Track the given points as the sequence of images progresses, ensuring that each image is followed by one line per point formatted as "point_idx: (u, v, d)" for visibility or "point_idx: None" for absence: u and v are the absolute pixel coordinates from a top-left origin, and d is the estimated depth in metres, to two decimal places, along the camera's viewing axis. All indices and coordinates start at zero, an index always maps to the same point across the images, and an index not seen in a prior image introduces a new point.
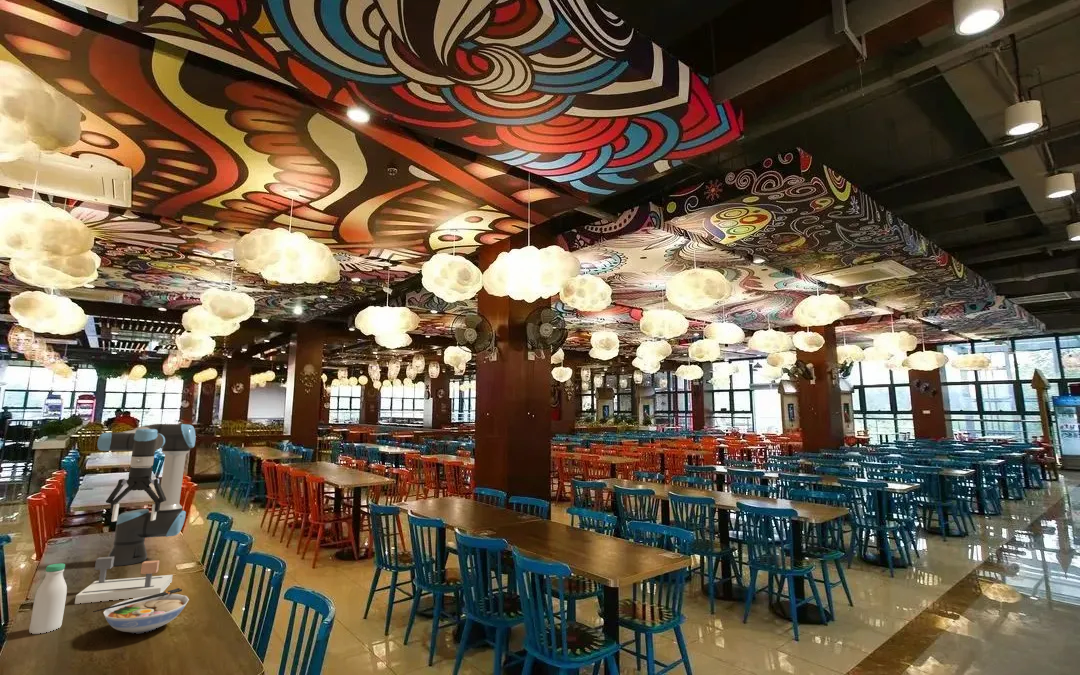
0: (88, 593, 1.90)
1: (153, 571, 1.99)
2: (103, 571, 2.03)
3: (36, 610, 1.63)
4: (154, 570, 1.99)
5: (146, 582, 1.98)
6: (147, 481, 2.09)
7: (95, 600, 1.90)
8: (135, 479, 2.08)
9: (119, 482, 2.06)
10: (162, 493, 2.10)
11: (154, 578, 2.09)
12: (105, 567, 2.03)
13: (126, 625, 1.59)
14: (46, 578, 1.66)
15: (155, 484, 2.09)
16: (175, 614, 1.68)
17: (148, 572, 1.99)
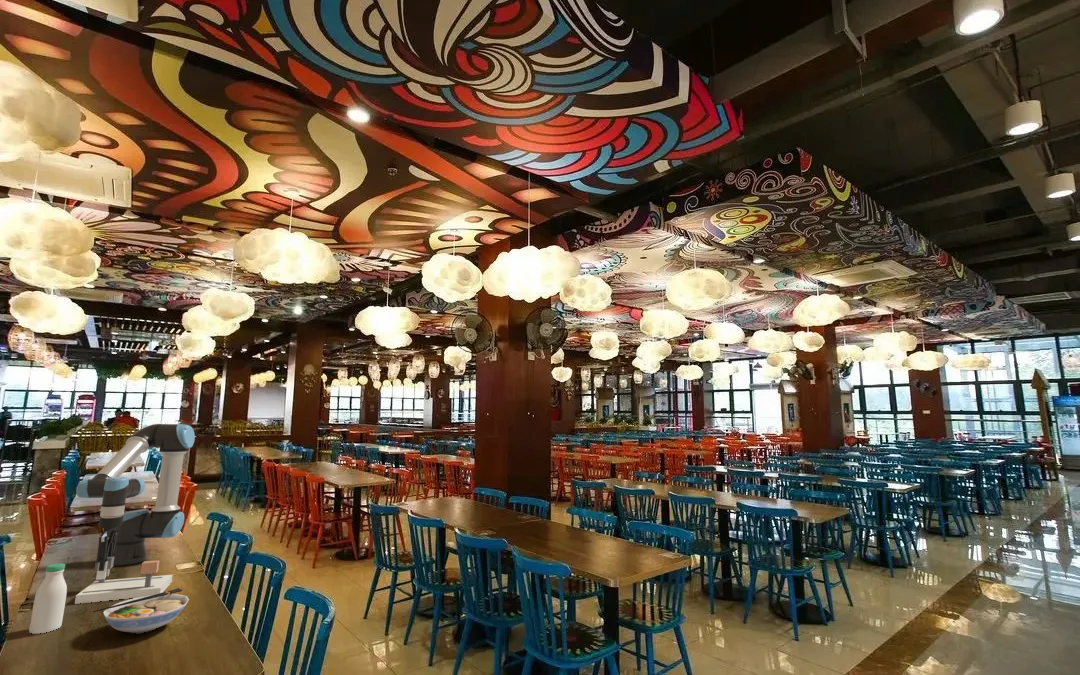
0: (88, 593, 1.90)
1: (153, 571, 1.99)
2: None
3: (36, 610, 1.63)
4: (154, 570, 1.99)
5: (146, 582, 1.98)
6: None
7: (95, 600, 1.90)
8: None
9: None
10: (101, 553, 2.00)
11: (154, 578, 2.09)
12: None
13: (126, 625, 1.59)
14: (46, 578, 1.66)
15: None
16: (175, 614, 1.68)
17: (148, 572, 1.99)
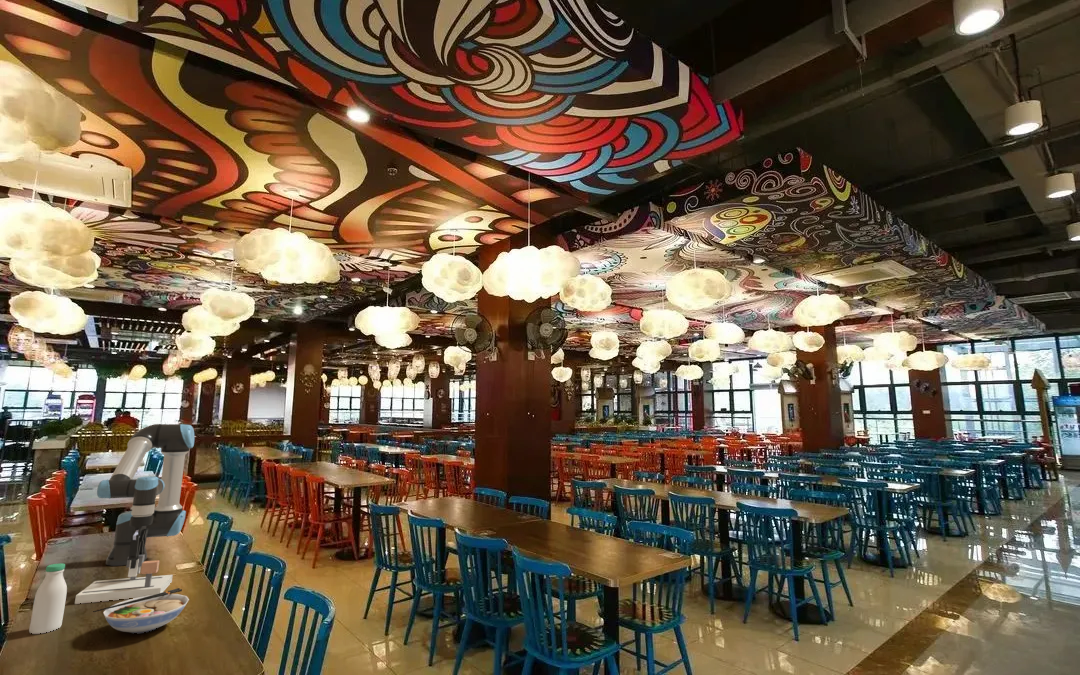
0: (88, 593, 1.90)
1: (153, 571, 1.99)
2: None
3: (36, 610, 1.63)
4: (154, 570, 1.99)
5: (146, 582, 1.98)
6: None
7: (95, 600, 1.90)
8: None
9: None
10: (133, 551, 2.04)
11: (154, 578, 2.09)
12: None
13: (126, 625, 1.59)
14: (46, 578, 1.66)
15: None
16: (175, 614, 1.68)
17: (148, 572, 1.99)
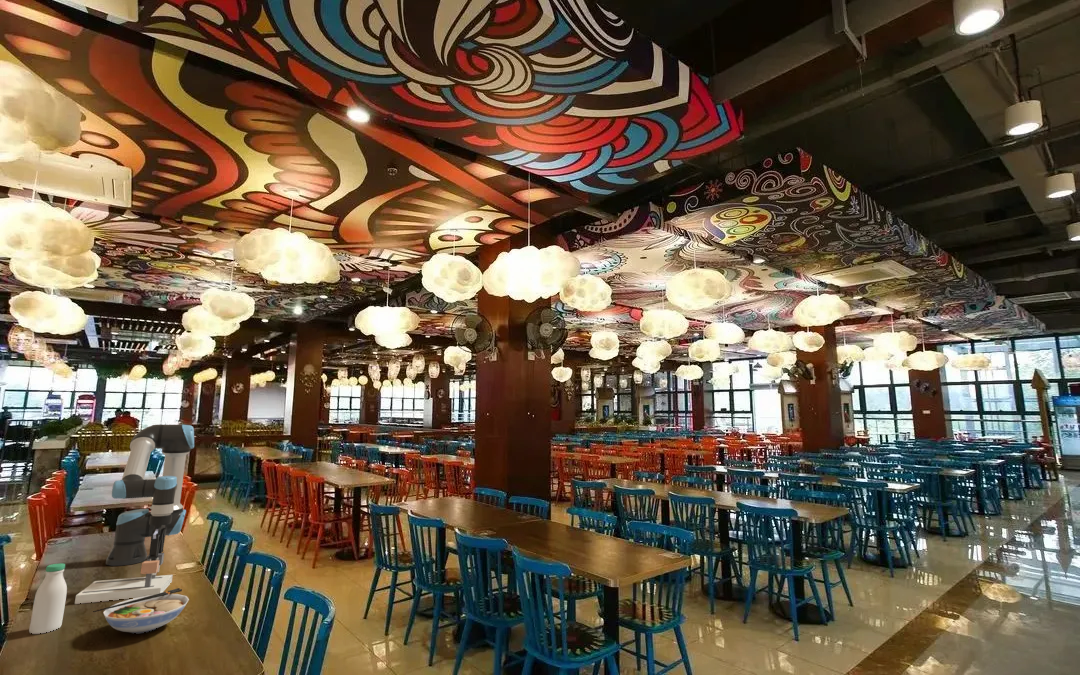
0: (88, 593, 1.90)
1: (153, 571, 1.99)
2: None
3: (36, 610, 1.63)
4: (154, 570, 1.99)
5: (146, 582, 1.98)
6: None
7: (95, 600, 1.90)
8: None
9: None
10: (153, 550, 2.06)
11: (154, 578, 2.09)
12: None
13: (126, 625, 1.59)
14: (46, 578, 1.66)
15: None
16: (175, 614, 1.68)
17: (148, 572, 1.99)
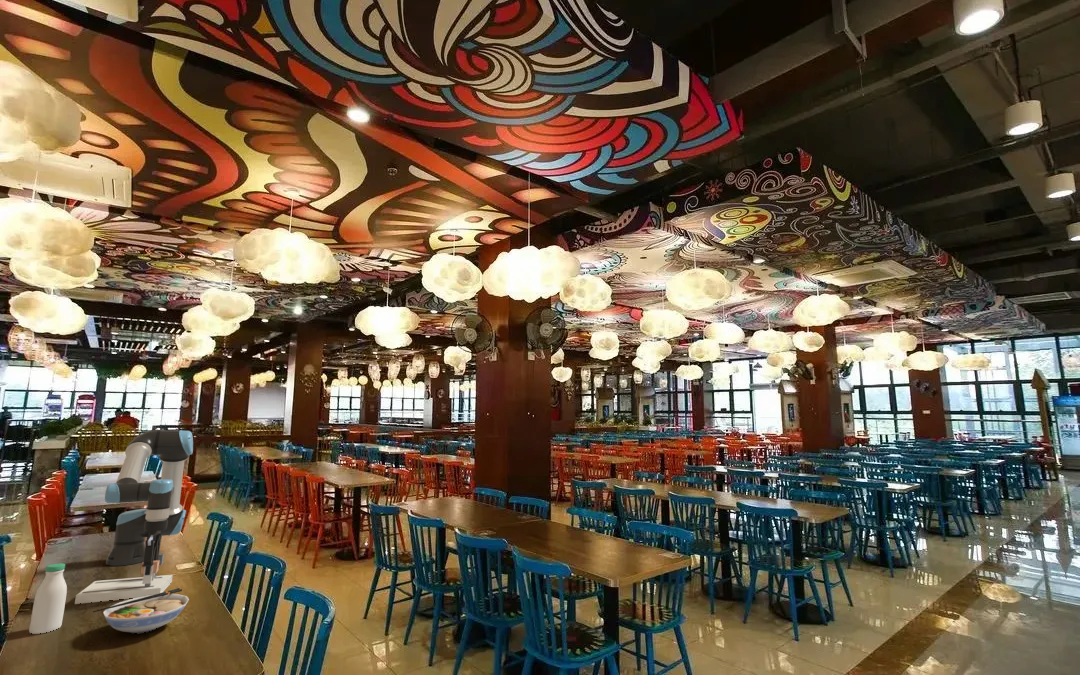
0: (88, 593, 1.90)
1: (153, 571, 1.99)
2: None
3: (36, 610, 1.63)
4: (154, 570, 1.99)
5: None
6: None
7: (95, 600, 1.90)
8: None
9: None
10: (148, 557, 1.96)
11: (154, 578, 2.09)
12: None
13: (126, 625, 1.59)
14: (46, 578, 1.66)
15: None
16: (175, 614, 1.68)
17: None
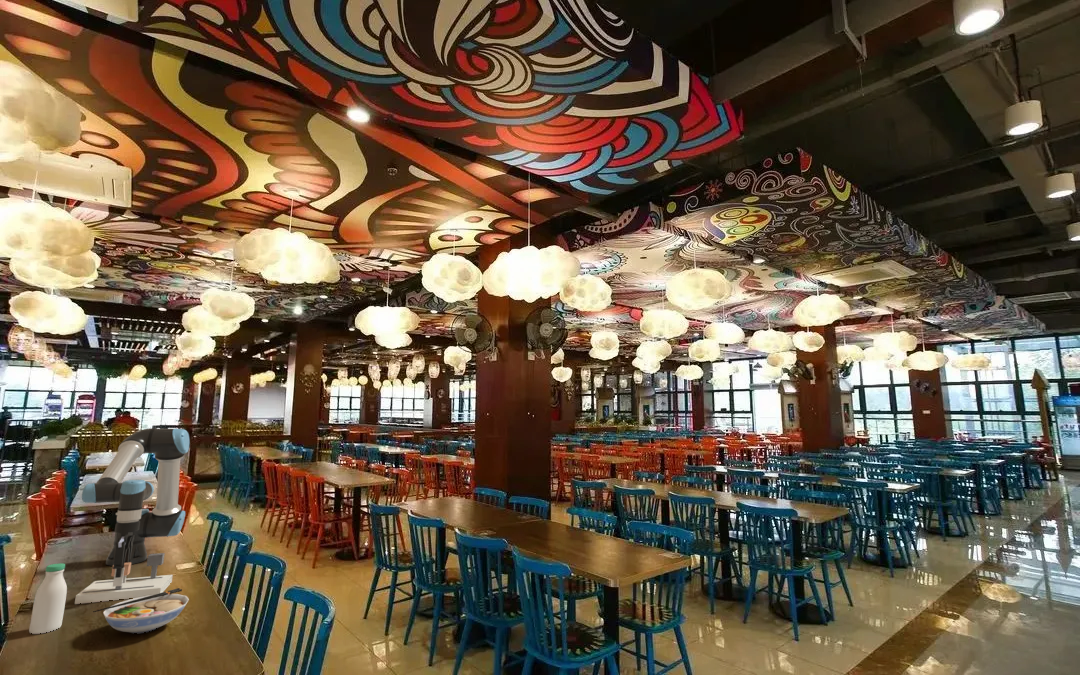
0: (88, 593, 1.90)
1: (124, 574, 1.96)
2: (155, 567, 2.10)
3: (36, 610, 1.63)
4: (126, 573, 1.96)
5: None
6: None
7: (95, 600, 1.90)
8: None
9: None
10: (118, 559, 1.92)
11: (154, 578, 2.09)
12: (156, 563, 2.09)
13: (126, 625, 1.59)
14: (46, 578, 1.66)
15: None
16: (175, 614, 1.68)
17: None
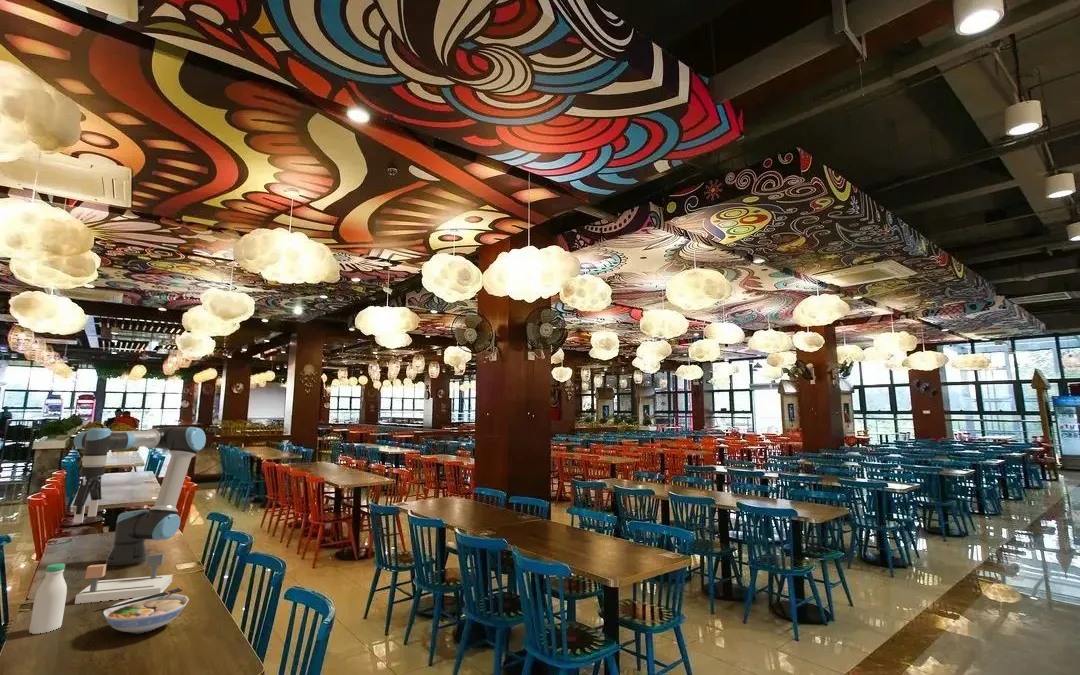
0: (88, 593, 1.90)
1: (99, 576, 1.93)
2: (155, 567, 2.10)
3: (36, 610, 1.63)
4: (100, 575, 1.93)
5: (91, 587, 1.92)
6: None
7: (95, 600, 1.90)
8: None
9: None
10: (80, 495, 2.01)
11: (154, 578, 2.09)
12: (156, 563, 2.09)
13: (126, 625, 1.59)
14: (46, 578, 1.66)
15: None
16: (175, 614, 1.68)
17: (93, 576, 1.92)
